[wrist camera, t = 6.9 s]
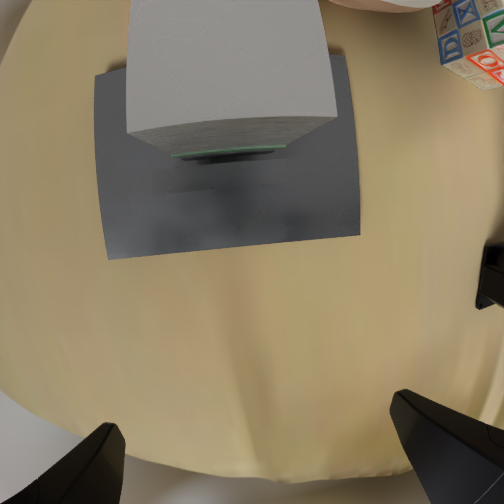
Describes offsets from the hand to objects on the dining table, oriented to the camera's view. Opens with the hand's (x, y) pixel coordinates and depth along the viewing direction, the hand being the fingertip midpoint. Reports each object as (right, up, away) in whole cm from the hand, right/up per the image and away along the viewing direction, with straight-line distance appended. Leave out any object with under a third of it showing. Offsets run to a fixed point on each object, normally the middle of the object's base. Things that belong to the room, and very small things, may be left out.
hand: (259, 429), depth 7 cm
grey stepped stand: (-2, +12, +9) cm, 15 cm away
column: (-1, +12, +5) cm, 13 cm away
